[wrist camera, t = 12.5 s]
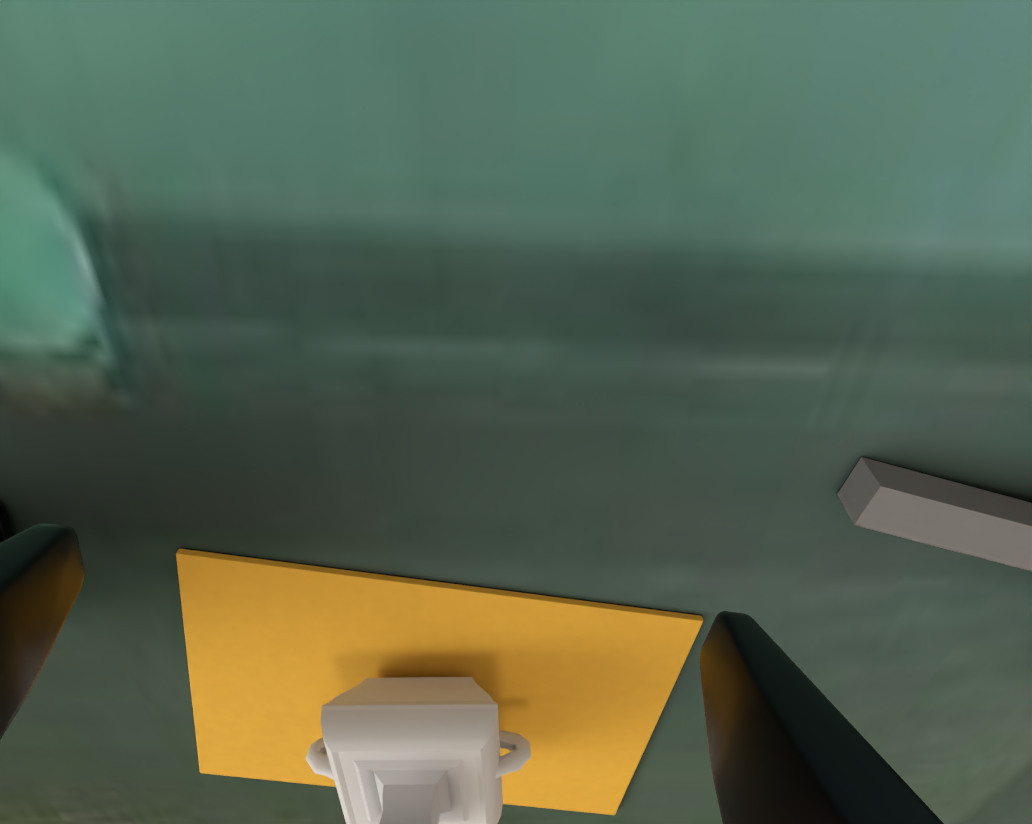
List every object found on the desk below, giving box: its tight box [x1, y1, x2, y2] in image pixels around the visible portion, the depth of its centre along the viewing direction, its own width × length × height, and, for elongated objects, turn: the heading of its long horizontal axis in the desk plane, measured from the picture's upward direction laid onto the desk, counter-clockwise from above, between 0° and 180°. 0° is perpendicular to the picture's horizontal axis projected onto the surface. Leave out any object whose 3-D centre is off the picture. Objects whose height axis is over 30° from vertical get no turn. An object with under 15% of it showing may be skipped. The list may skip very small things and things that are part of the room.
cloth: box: [176, 549, 703, 815], centre depth 30 cm, size 20×14×1 cm
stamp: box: [306, 677, 531, 824], centre depth 26 cm, size 9×7×8 cm
